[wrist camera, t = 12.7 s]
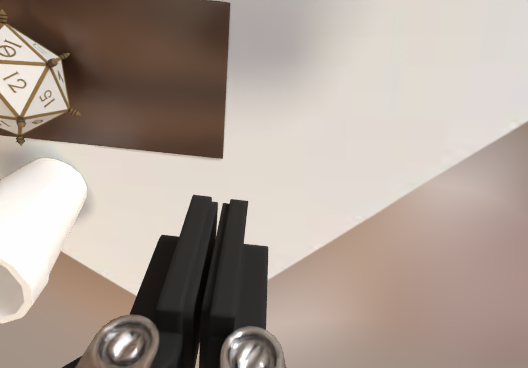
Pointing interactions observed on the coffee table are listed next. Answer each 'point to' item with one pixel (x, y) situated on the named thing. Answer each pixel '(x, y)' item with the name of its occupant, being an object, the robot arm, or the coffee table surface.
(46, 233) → the foam cup
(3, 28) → the game die
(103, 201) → the coffee table surface
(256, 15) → the coffee table surface
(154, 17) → the plate
